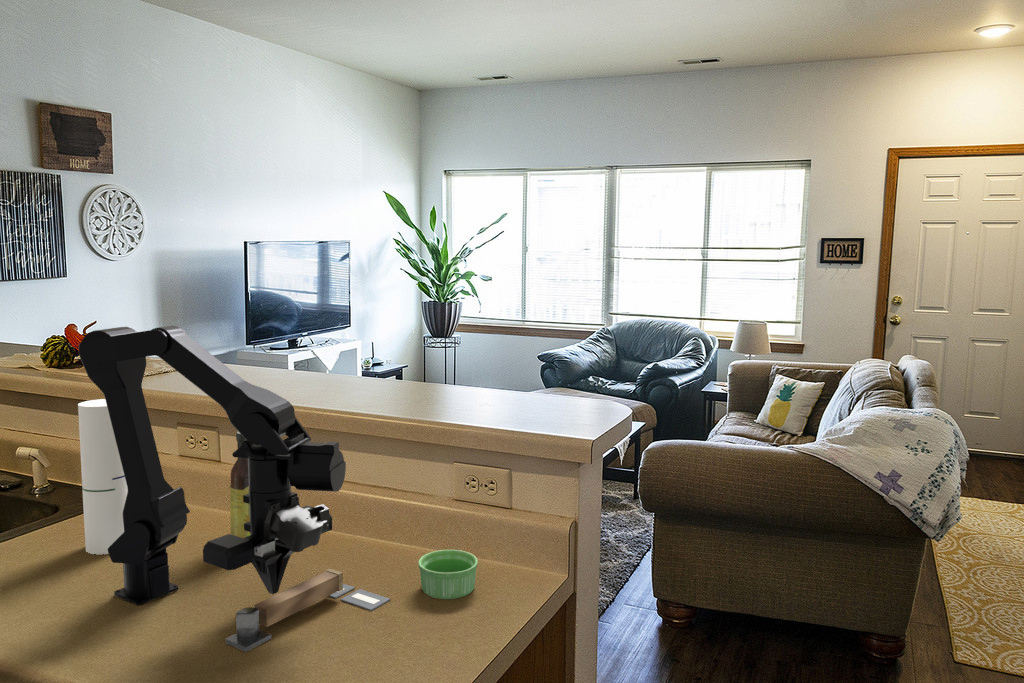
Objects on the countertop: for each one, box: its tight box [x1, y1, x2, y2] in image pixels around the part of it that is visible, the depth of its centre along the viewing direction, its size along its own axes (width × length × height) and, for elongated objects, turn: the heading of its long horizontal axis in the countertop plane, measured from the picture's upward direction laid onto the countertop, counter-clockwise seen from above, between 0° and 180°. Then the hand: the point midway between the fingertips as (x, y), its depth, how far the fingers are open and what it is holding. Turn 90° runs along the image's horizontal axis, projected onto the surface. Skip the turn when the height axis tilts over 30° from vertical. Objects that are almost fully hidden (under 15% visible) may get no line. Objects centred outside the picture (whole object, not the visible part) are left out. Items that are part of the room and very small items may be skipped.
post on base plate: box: [224, 606, 272, 653], centre depth 97 cm, size 4×4×4 cm
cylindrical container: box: [77, 398, 128, 556], centre depth 127 cm, size 7×7×25 cm
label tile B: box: [340, 588, 391, 612], centre depth 109 cm, size 6×4×1 cm, turn 58°
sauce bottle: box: [229, 431, 251, 538], centre depth 129 cm, size 6×6×20 cm
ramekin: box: [417, 549, 479, 600], centre depth 114 cm, size 9×9×4 cm
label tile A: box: [328, 583, 356, 599], centre depth 113 cm, size 6×4×1 cm, turn 58°
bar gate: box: [253, 568, 344, 628], centre depth 105 cm, size 14×3×3 cm, turn 148°
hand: (273, 592), depth 108 cm, fingers closed
